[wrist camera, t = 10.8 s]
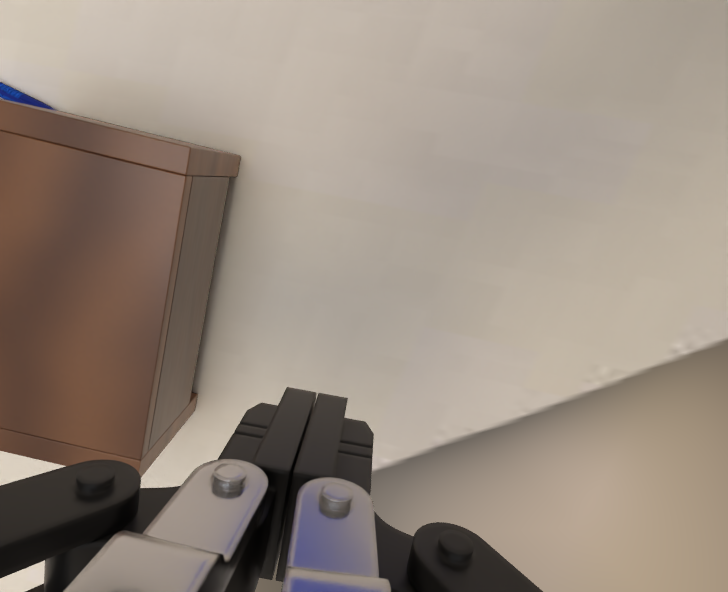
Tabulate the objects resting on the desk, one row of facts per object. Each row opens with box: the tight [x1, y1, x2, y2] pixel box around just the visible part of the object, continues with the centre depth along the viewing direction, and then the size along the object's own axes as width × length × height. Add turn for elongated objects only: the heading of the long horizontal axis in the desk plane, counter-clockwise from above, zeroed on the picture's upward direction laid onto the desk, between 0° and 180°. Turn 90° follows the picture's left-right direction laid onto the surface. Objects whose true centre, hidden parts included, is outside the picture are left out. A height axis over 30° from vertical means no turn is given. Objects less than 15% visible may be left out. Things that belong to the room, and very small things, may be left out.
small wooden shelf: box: [0, 99, 241, 477], centre depth 27 cm, size 10×16×8 cm, turn 166°
